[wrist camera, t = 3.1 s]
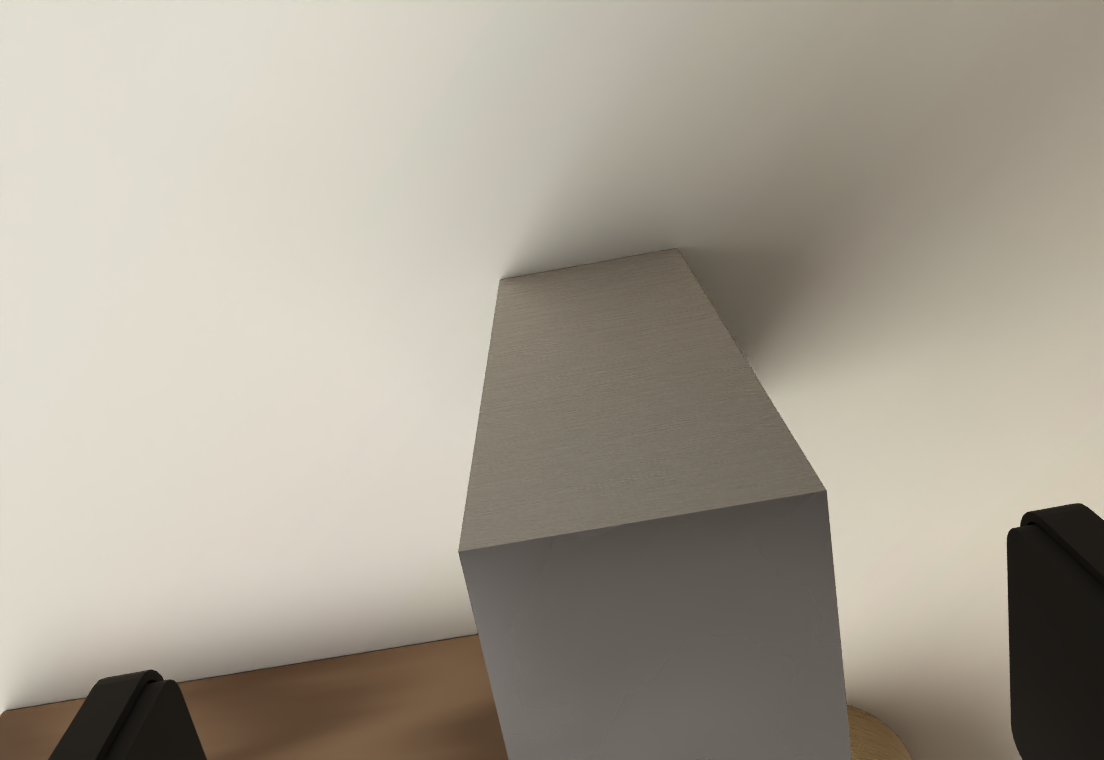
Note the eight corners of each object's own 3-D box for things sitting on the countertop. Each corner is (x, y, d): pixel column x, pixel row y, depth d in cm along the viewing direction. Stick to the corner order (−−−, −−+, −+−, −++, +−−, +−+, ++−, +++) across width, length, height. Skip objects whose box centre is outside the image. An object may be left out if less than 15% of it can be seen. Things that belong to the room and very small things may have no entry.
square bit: (677, 248, 22) (826, 490, 10) (700, 413, 23) (854, 785, 12) (499, 279, 22) (458, 551, 11) (532, 441, 23) (527, 835, 12)
